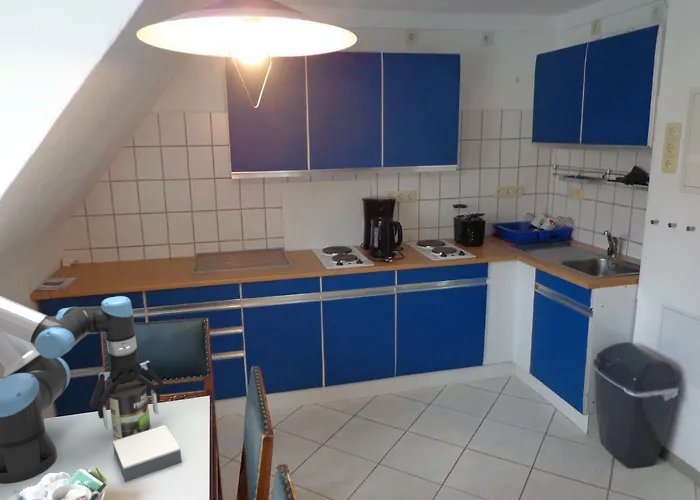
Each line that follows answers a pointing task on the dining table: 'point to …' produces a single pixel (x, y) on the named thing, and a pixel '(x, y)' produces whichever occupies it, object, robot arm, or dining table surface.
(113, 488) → the dining table surface
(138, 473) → the plinth
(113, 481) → the dining table surface
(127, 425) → the coffee can
